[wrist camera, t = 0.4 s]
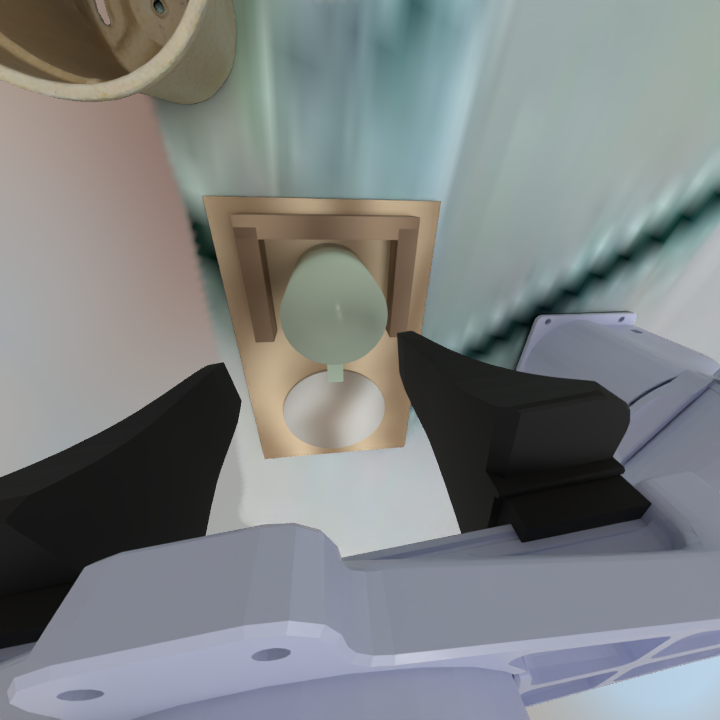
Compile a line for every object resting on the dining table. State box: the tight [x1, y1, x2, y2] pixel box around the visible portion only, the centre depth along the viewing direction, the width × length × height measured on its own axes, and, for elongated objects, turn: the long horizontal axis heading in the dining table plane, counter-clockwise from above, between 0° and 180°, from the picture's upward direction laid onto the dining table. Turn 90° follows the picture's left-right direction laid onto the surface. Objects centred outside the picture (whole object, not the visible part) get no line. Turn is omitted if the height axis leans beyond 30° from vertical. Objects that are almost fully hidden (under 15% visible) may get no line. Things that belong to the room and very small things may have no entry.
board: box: [203, 196, 441, 459], centre depth 21 cm, size 14×22×3 cm, turn 179°
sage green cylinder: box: [280, 243, 388, 382], centre depth 17 cm, size 5×8×6 cm, turn 179°
